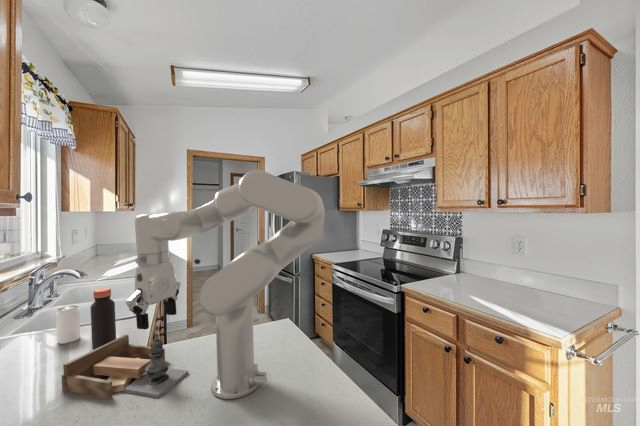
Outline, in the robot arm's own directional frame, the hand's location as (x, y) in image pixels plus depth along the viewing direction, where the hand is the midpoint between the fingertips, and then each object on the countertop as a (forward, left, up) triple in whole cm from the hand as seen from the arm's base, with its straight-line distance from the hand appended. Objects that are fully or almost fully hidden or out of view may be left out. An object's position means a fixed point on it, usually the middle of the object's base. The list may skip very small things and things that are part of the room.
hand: (157, 321), depth 80 cm
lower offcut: (+12, 0, -18) cm, 22 cm away
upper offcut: (+12, 0, -15) cm, 20 cm away
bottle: (+36, -13, -17) cm, 42 cm away
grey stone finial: (+1, 0, -16) cm, 16 cm away
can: (+54, -14, -17) cm, 58 cm away
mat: (+1, 0, -17) cm, 17 cm away
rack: (+15, 0, -17) cm, 23 cm away
